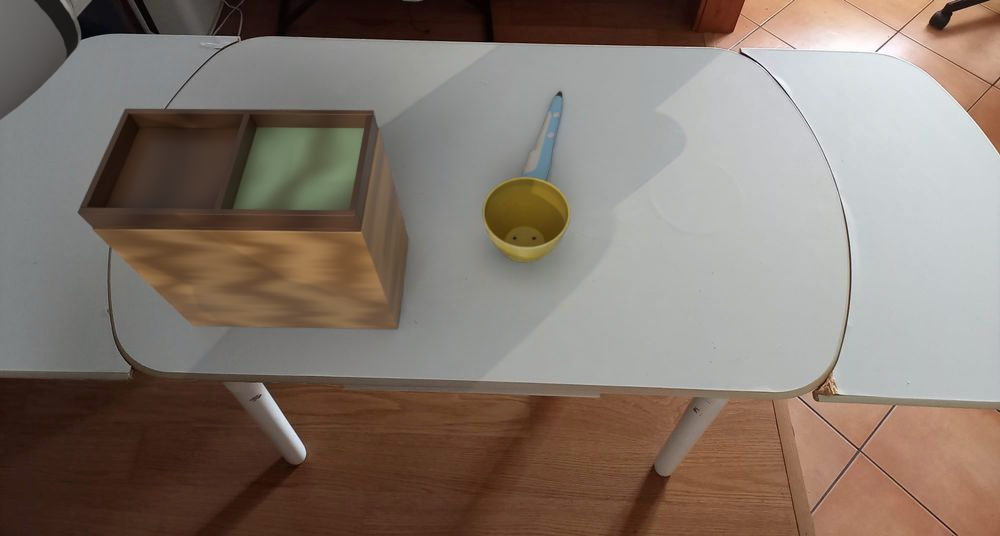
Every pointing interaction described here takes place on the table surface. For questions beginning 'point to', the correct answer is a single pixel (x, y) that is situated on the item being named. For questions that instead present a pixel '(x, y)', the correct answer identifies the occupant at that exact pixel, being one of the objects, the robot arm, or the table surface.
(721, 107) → the table surface
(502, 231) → the flower pot
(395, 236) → the stand
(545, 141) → the pen
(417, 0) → the beverage can
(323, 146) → the tray
